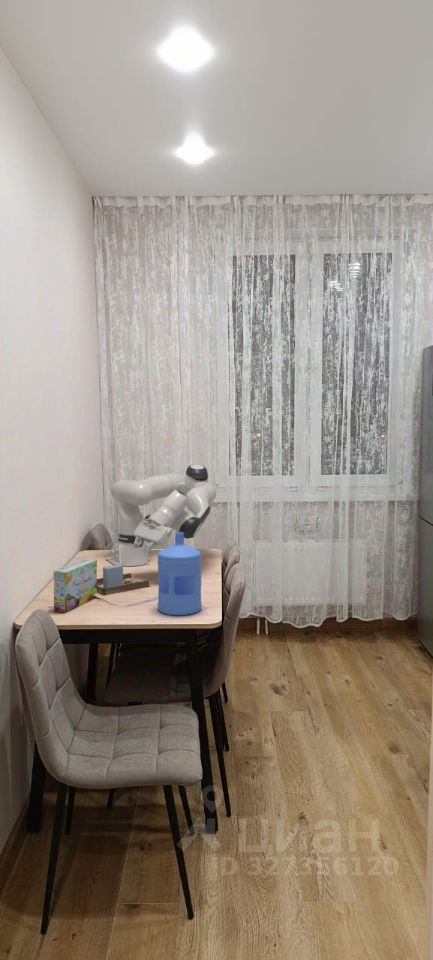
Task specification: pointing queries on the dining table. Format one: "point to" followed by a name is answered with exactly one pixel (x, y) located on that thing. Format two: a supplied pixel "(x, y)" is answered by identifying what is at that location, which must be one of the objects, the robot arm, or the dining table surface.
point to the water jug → (179, 578)
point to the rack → (121, 586)
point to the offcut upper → (130, 581)
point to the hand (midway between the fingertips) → (140, 549)
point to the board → (112, 576)
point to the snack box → (75, 585)
